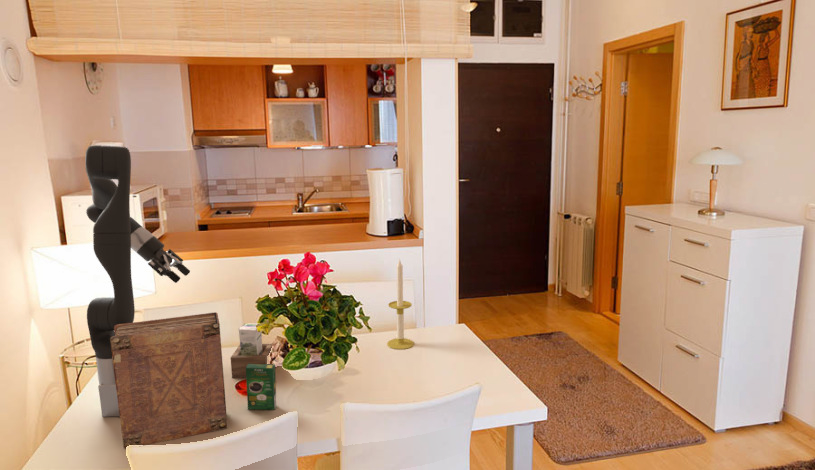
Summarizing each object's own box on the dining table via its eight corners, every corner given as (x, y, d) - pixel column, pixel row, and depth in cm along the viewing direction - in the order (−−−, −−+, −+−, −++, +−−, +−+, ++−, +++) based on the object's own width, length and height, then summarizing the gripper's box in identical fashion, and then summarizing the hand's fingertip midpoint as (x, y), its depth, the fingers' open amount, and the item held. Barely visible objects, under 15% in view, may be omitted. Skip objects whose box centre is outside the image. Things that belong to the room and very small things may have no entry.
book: (122, 449, 139) (108, 337, 133) (126, 431, 147) (113, 324, 141) (228, 428, 148) (219, 322, 142) (225, 412, 156) (217, 311, 150)
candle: (402, 336, 210) (401, 254, 204) (419, 344, 203) (419, 259, 196) (381, 343, 204) (379, 258, 197) (398, 351, 196) (397, 263, 190)
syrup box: (264, 363, 185) (261, 322, 183) (258, 371, 180) (255, 329, 177) (247, 363, 186) (244, 322, 183) (241, 370, 180) (238, 328, 177)
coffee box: (278, 405, 160) (275, 363, 157) (275, 410, 157) (273, 367, 154) (250, 405, 160) (247, 363, 157) (247, 410, 157) (244, 367, 154)
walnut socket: (266, 377, 177) (265, 357, 176) (232, 377, 177) (230, 357, 176) (273, 362, 188) (272, 343, 187) (241, 363, 188) (240, 344, 187)
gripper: (142, 240, 172) (182, 275, 175) (161, 231, 186) (198, 264, 189) (127, 257, 173) (167, 291, 176) (147, 247, 187) (184, 279, 190)
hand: (183, 277), depth 182 cm, fingers open, 8 cm apart
